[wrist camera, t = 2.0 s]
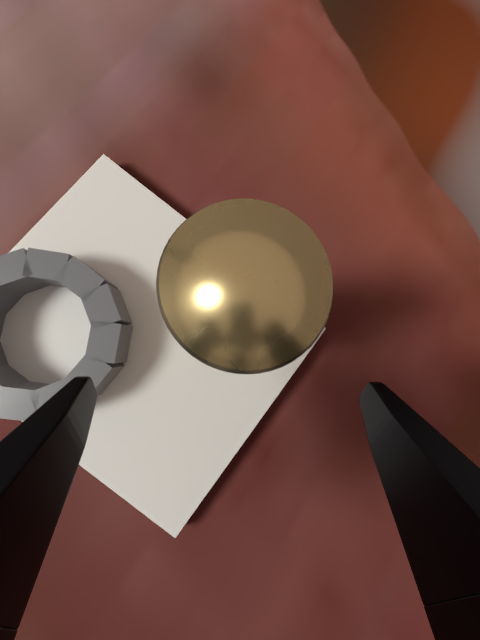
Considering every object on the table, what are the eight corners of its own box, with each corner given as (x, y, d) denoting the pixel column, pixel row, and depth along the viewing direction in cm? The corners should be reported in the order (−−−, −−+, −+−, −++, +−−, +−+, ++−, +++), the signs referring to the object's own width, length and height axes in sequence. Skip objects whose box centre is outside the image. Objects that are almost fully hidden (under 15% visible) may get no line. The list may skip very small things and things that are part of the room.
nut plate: (319, 329, 20) (340, 326, 17) (177, 525, 18) (169, 566, 14) (110, 165, 20) (88, 128, 16) (-60, 344, 18) (-124, 343, 14)
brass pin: (269, 319, 19) (370, 269, 7) (231, 370, 18) (265, 413, 6) (220, 280, 18) (232, 160, 7) (180, 330, 18) (113, 296, 6)
